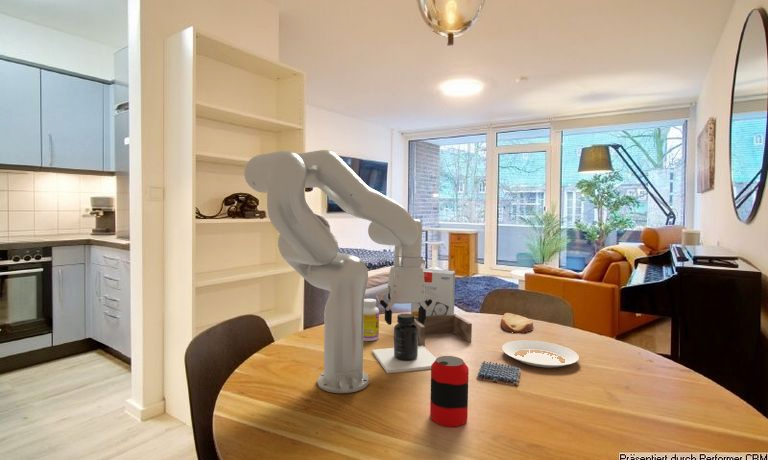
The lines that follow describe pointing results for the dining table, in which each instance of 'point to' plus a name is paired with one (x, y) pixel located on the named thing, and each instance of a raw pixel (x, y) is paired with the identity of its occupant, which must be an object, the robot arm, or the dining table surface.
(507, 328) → the slice of bread
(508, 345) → the plate
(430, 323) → the shelf bay
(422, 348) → the white square board
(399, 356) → the supplement bottle
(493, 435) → the dining table surface
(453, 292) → the hard drive box
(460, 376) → the soda can
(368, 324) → the supplement bottle
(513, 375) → the woven mat
